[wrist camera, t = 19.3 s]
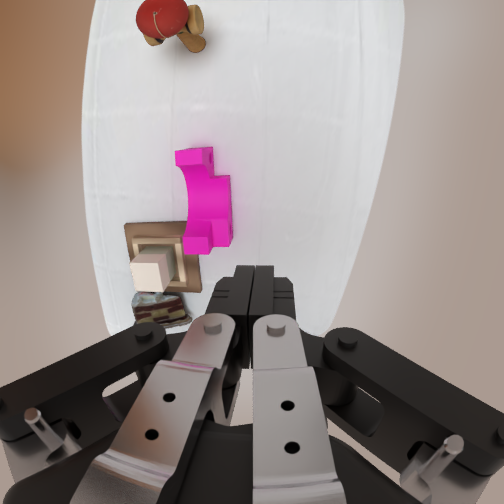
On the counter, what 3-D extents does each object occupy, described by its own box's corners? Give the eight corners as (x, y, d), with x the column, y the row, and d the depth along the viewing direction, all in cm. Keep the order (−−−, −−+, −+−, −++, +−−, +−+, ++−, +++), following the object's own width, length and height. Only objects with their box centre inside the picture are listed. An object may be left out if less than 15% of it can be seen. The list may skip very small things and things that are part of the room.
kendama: (167, 61, 38) (112, 31, 21) (177, 28, 35) (130, -15, 19) (213, 66, 38) (176, 31, 22) (223, 32, 36) (194, -18, 19)
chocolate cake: (189, 287, 51) (126, 309, 44) (196, 321, 53) (137, 344, 46) (169, 273, 58) (114, 291, 52) (176, 303, 60) (124, 322, 54)
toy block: (233, 236, 49) (226, 254, 42) (196, 237, 49) (184, 254, 43) (228, 145, 43) (220, 147, 36) (190, 148, 44) (174, 151, 37)
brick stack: (176, 272, 51) (163, 292, 44) (151, 272, 51) (135, 291, 45) (172, 246, 49) (157, 263, 42) (146, 246, 49) (129, 263, 43)
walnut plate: (202, 289, 53) (198, 297, 51) (138, 286, 54) (133, 293, 52) (194, 220, 48) (190, 225, 46) (126, 223, 49) (119, 227, 47)
